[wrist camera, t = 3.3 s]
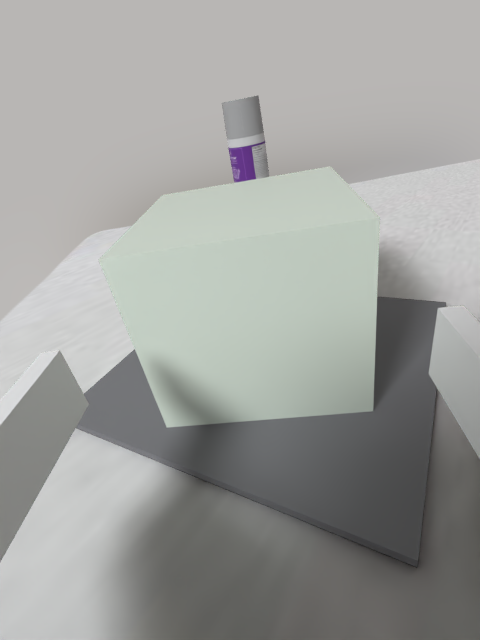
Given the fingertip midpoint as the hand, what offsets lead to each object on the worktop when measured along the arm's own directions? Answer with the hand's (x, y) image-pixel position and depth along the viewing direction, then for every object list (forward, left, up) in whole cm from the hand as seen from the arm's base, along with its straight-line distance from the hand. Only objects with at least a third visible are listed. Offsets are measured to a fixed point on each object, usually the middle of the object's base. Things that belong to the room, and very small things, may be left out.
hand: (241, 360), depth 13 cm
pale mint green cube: (-8, -4, -7) cm, 11 cm away
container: (-36, -18, -7) cm, 41 cm away
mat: (-8, -4, -7) cm, 11 cm away
